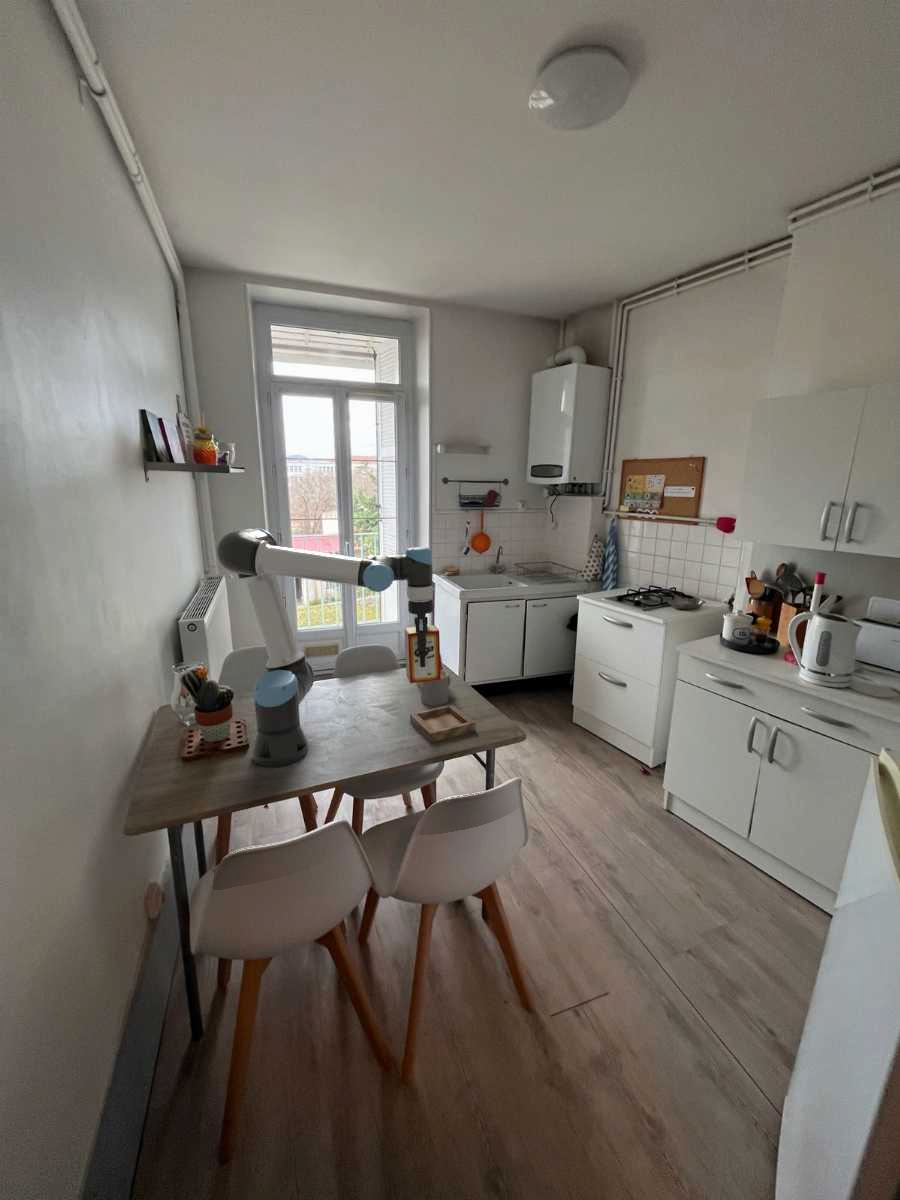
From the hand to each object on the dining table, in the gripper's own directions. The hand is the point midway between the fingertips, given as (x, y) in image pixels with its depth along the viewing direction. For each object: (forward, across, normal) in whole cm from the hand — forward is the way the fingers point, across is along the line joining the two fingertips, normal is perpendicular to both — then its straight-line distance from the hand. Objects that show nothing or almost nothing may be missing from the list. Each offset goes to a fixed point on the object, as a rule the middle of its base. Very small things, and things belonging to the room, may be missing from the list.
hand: (423, 671), depth 150 cm
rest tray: (+20, +3, -5) cm, 21 cm away
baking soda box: (+2, 0, 0) cm, 2 cm away
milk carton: (+21, +38, -2) cm, 43 cm away
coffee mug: (+21, +25, -5) cm, 32 cm away
